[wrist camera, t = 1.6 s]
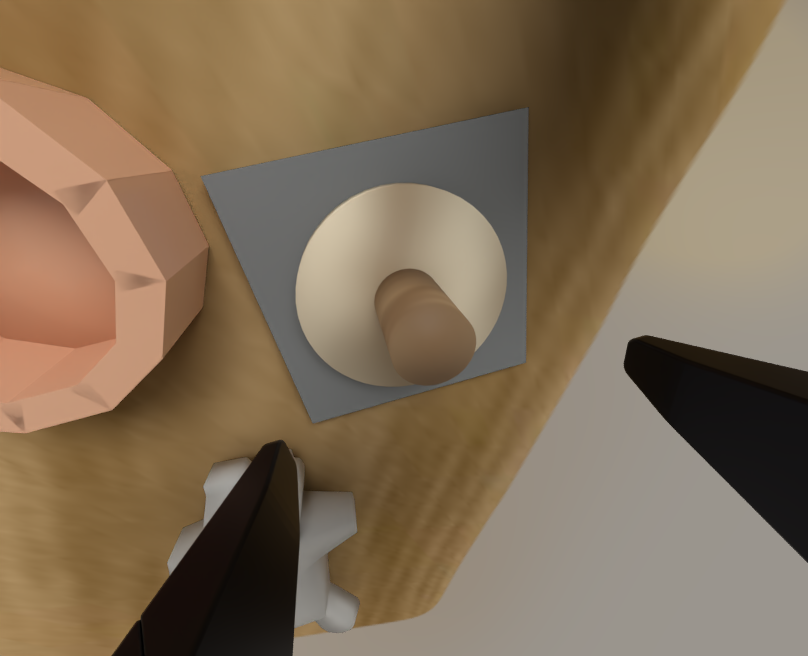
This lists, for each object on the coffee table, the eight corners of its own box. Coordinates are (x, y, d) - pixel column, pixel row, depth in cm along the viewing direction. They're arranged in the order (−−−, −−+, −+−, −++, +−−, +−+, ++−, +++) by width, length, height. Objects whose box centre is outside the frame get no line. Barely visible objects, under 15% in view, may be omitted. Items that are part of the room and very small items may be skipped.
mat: (520, 108, 13) (528, 107, 12) (520, 356, 19) (525, 362, 18) (206, 175, 12) (200, 176, 11) (313, 415, 18) (312, 423, 17)
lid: (491, 159, 13) (574, 163, 9) (500, 347, 17) (558, 411, 13) (262, 212, 12) (226, 246, 8) (333, 394, 17) (336, 480, 12)
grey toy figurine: (346, 484, 15) (377, 661, 21) (343, 416, 20) (368, 576, 25) (115, 532, 14) (216, 709, 19) (171, 446, 18) (239, 609, 24)
